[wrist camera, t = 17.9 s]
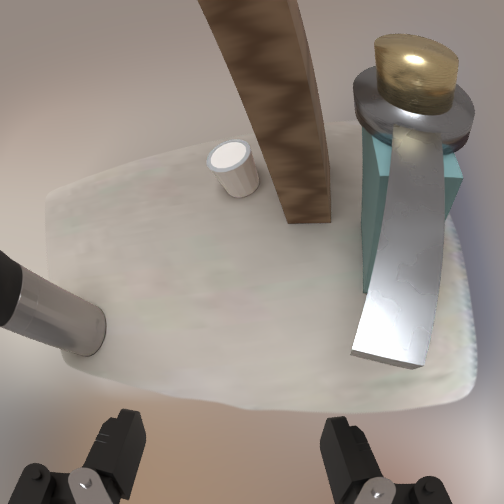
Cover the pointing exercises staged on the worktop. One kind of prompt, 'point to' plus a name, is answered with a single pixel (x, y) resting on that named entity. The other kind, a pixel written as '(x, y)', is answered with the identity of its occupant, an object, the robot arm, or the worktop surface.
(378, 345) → the grey lever handle
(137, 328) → the worktop surface
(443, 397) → the worktop surface
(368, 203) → the tall block
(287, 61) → the tall stand
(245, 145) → the white yogurt cup
